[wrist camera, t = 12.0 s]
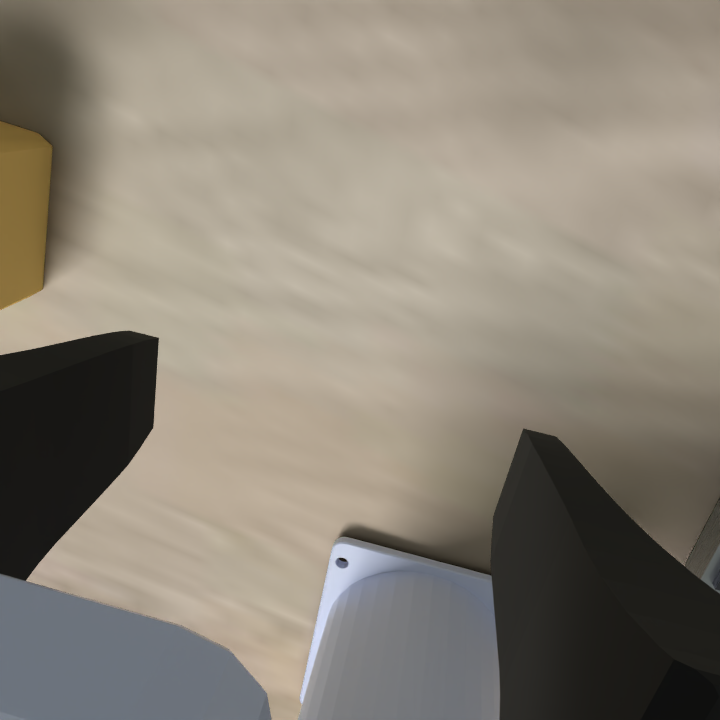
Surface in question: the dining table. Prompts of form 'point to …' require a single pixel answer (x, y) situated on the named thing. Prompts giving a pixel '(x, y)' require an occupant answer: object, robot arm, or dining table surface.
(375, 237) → the dining table surface
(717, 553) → the ink pad
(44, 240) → the rubber stamp
